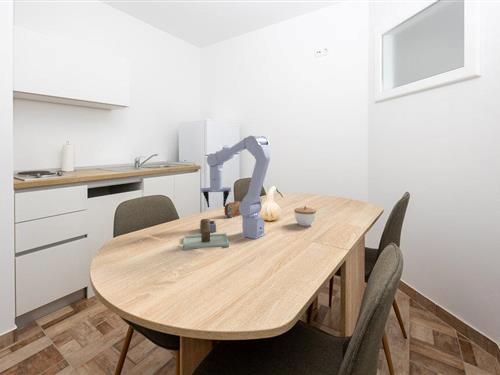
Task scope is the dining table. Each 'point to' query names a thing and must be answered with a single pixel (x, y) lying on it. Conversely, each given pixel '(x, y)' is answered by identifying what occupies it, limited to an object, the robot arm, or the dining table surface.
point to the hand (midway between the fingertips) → (216, 206)
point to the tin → (232, 209)
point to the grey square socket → (211, 226)
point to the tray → (196, 243)
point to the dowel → (205, 230)
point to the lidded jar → (305, 216)
